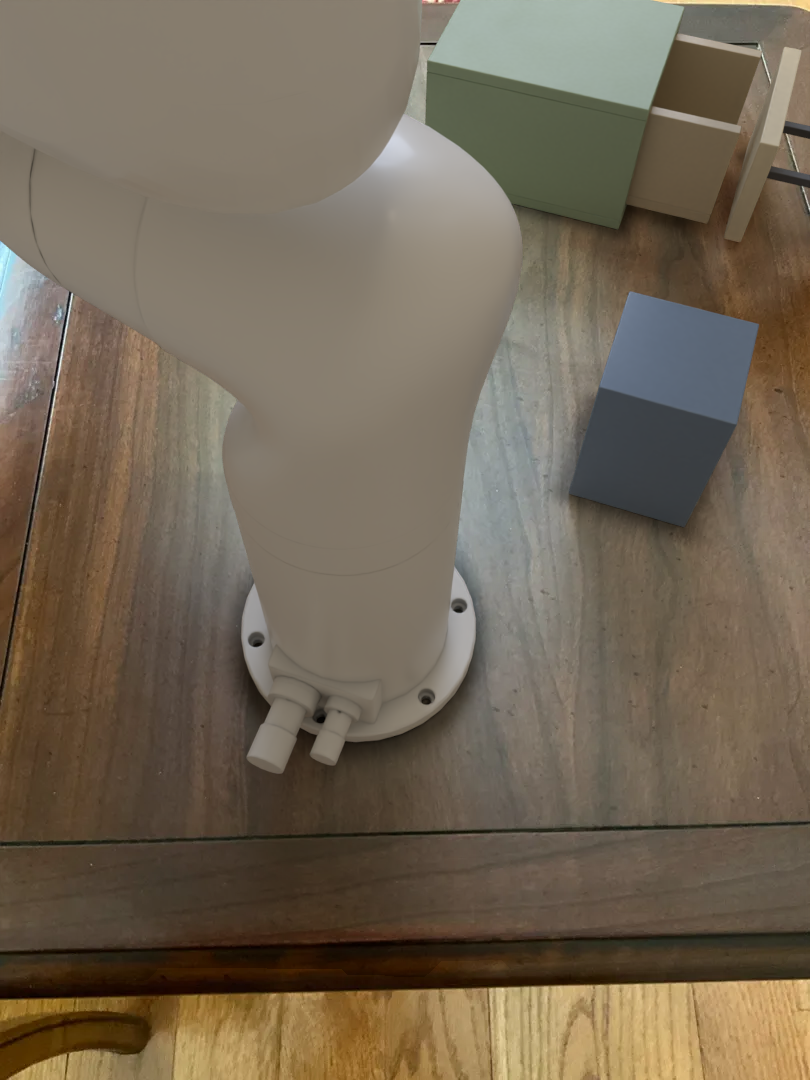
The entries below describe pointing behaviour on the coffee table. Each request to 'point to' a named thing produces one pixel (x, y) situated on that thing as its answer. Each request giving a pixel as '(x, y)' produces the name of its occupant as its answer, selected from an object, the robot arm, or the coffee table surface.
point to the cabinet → (552, 96)
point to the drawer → (712, 132)
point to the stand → (664, 408)
